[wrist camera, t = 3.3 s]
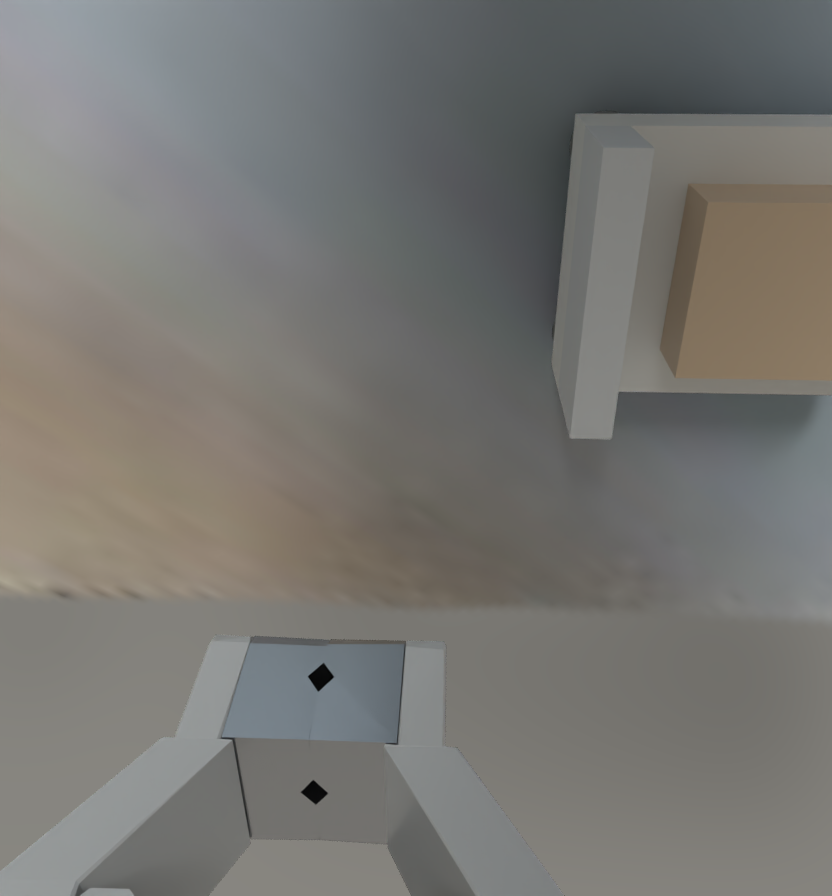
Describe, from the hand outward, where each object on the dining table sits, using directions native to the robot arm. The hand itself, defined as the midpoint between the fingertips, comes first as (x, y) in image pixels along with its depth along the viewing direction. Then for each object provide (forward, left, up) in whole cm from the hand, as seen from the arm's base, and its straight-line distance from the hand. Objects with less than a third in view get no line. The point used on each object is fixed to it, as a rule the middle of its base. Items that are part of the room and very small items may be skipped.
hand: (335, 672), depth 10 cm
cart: (0, +10, -19) cm, 22 cm away
